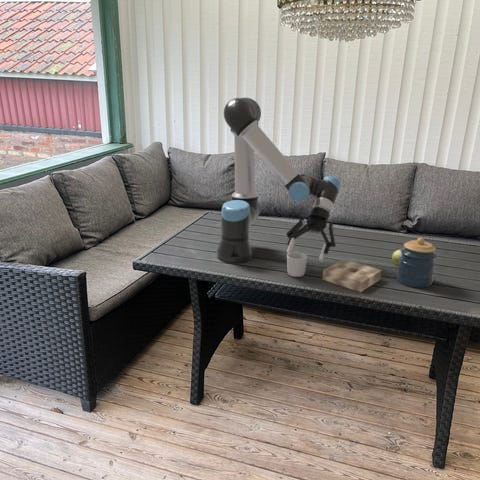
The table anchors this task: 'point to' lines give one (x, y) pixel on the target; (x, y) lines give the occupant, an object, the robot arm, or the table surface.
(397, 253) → the tennis ball
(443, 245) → the table surface
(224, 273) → the table surface
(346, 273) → the opening block
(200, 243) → the table surface
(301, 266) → the cup
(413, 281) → the canister
